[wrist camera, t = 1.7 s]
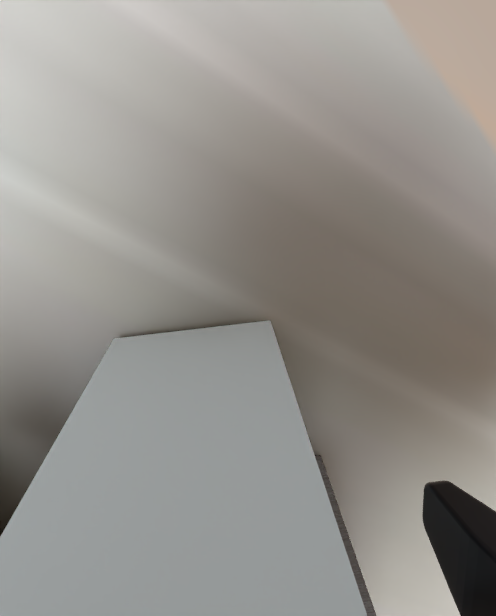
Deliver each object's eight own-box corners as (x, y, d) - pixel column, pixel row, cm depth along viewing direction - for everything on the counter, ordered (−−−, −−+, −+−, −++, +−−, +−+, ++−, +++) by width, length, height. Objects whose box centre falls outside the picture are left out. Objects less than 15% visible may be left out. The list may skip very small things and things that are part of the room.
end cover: (310, 591, 16) (400, 1013, 8) (158, 612, 15) (100, 1064, 8) (291, 317, 12) (426, 606, 4) (92, 341, 12) (-145, 687, 4)
